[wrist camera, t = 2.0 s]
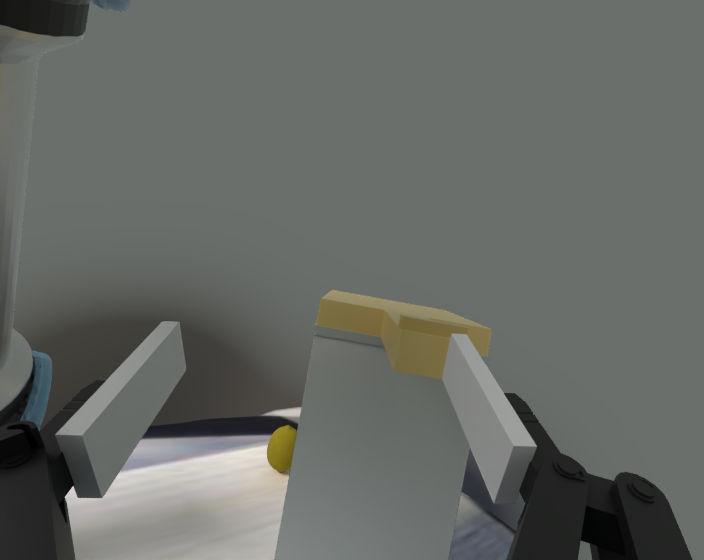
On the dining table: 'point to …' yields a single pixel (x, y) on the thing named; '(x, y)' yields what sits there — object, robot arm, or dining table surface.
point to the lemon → (281, 448)
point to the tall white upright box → (371, 459)
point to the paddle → (402, 329)
